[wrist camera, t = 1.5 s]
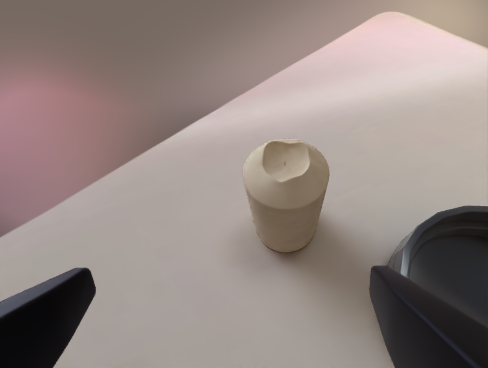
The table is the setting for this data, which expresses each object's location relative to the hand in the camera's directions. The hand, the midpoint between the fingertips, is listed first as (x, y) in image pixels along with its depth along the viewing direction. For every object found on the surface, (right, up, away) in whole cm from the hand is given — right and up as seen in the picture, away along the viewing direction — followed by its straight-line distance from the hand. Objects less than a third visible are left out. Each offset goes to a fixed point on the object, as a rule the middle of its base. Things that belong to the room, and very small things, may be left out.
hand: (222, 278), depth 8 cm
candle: (+4, -1, +16) cm, 17 cm away
